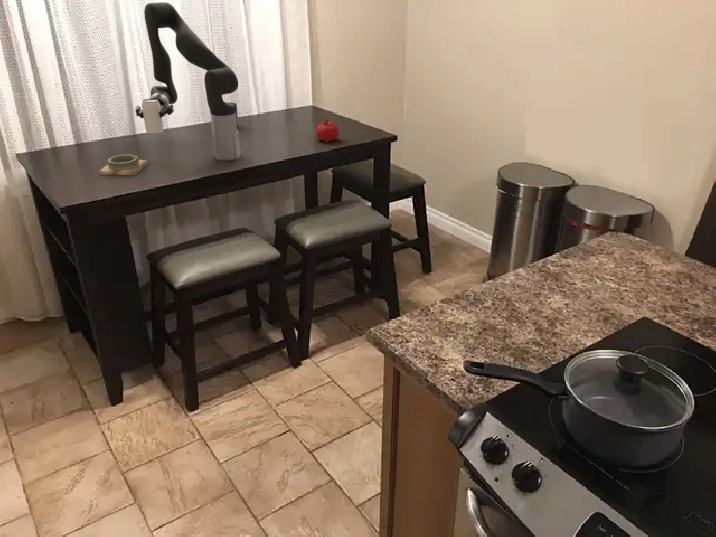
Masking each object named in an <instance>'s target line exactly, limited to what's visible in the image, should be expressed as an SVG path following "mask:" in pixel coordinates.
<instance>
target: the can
mask: <svg viewBox="0 0 716 537" xmlns="http://www.w3.org/2000/svg"><path fill="white" fill-rule="evenodd" d="M141 102H142V103H141V108H142V111H143V117H144V118H143V122H144V127H145V128H144V129H145V132H146V134H147V135H160V134H163V133H164V123H163V117H162V118H160V114H159V112H160V111H161V109H160V104H159V102H158V99H149V98H145V99H143V100H141Z"/></svg>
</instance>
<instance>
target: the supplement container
mask: <svg viewBox="0 0 716 537" xmlns="http://www.w3.org/2000/svg"><path fill="white" fill-rule="evenodd" d="M228 103H231V104H233V105H234V106H235V115H236V125H237V127H238V128H239V116H238V105H237V103H236V102H229V101H228Z"/></svg>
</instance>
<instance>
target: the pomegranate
mask: <svg viewBox="0 0 716 537" xmlns="http://www.w3.org/2000/svg"><path fill="white" fill-rule="evenodd" d="M328 120H329V119H328V118H324V121H325V122H324V121H320V122H318V123H319V125H318V126H317V127H316V129H315V137H316V139H317V140H318V141H319V140H322V141H331V142H333V141H332V140H334V141H336V140H337V139H338V138H339V136H340V129H339V127H338V126H337V123H335V122H334V121H330V122H328ZM335 139H336V140H335Z"/></svg>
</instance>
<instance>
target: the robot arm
mask: <svg viewBox="0 0 716 537" xmlns="http://www.w3.org/2000/svg"><path fill="white" fill-rule="evenodd" d="M143 14H144V22H145V26H146V32H147V36H148V42H149V45H150V51H151V54H152V56H151V57H152V64H153V78H154V80H155V81H157V82H160V83H162V84H165V85H164V86H162V85H155V86H152V87H151V89H150V97H149V98H148V99H158V102H159V104H160V109H161V111H160V112H159V114H160V118H162V119H163V117H165V116H166V115H168V116H171V115H172V114H173V112H175V109H174V104H176V102H177V101H178V93H177V90H176V87H175V84H174V80H173V74H172V72H173V71H172V59H171V56H170V54H169V53H168V51H167V50H166V48H165V46H164V45H163V43H162V41H161V38H160V36H159V35H160V34H159V29H166V28H169V29H171V30H172V31H173V32H174V33H175V47H176V49H177V51H178V52H179V53H180V54H181V56H182V57H183V58H184V59H185V60H186V61H187V62H188V63H189V64H192V65H193V66H196V67H198V68H201V69H202V70H205V71H206V72H205V74H204V80H203V81H204V88H205V93H206V100H207V106H208V108H209V112H210V114H209V115H210V120H211V121H210V122H211V131H212V138H213V140H212V141H213V148H214V156H215V159H216V160H218V161H224V162H226V161H227V162H228V161H233V160H238V159H239V158H240V156H241V155H242V154H241V144H240V143H241V142H240V135H239V134H240V133H239V131H238V128H237V125H236V115H235V106H234V105H233V104H231V103H229V102H226V101H224V100H223V98H224V97H223V96H224V95H228V94H232V93H235V92H236V91H237V90H238V88H239V80H238V77H237V75H236V74H235V72H234V71H233V70H232V68H230V67H229V66H228V65H227V64H226V63H225V62H224V61H222V59H220V58H219V57H218V56H217V55H216V54H215V53H214V52H213V51H212V50H211V49H210V48H209V47H208V46H207V45H206V44H205V42H204V41H203V40H202V39H201V38H200V37H199V36H198V35H197V34H196V33H195V32H194V31H193V30H192V29H191V28H190V27H189V25H188V24H187V23H186V22H185V20H184V19H183V17H182V16H181V14H180V13H179V12H178V11H177V9H176V8H175V6H173V5H172V4H171V3H170V2H164V1H163V2H148V3H147V4H146V5H145V6H144V11H143ZM135 115H136V116H137V117H139V118H140V119H144V117H143V111H142V106H140V105H136V106H135Z"/></svg>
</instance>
